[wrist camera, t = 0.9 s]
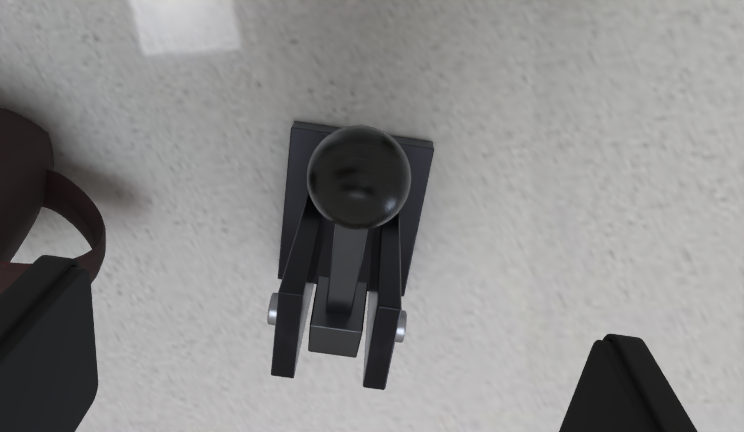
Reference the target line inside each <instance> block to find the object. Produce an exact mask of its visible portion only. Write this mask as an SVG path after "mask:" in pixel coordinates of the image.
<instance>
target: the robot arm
mask: <svg viewBox="0 0 744 432" xmlns="http://www.w3.org/2000/svg"><path fill="white" fill-rule="evenodd" d="M97 388H98V373H97V360H96V347H95V334H94V321H93V308H92V294H91V281H90V273H89V271H88V270H87V269H85V268H81V264H80V262H79V261H78V260H76V259H71V258H64V257H57V256H50V255H42V256H41V257H39V258H38V259H37V260H36V261H35V262H34V263H33V264H32V265H31V266H30V267H29V268H28V269H27V270H25V271H24V272H23V273H22V274H21V275H20V276H19V277H18V278H17V279H16V280H15V281H14V282H13V283H12V284H11V285H10V286H9V287H8V288H7V289H6V290H5V291H4V292H3V293H1V294H0V432H75V430H76V429H77V427H78V425H79V424H80V422H81V421H82V419H83V417H84V416H85V414H86V413H87V411H88V409H89V408H90V406H91V405H92V403H93V401H94V399H95V396H96V393H97ZM559 432H697V430H696V428H695V427H694V425H693V423H692V422H691V420H690V418H689V417H688V415H687V413H686V412H685V410H684V408H683V406H682V405H681V403H680V401H679V400H678V398H677V396H676V395H675V393H674V391H673V390H672V388H671V386H670V385H669V383H668V381H667V379H666V378H665V376H664V374H663V373H662V371H661V369H660V368H659V366H658V364H657V363H656V361H655V359H654V358H653V356H652V354H651V353H650V351H649V349H648V347H647V346H646V344H645V342H644V341H643V340H642V339H640V338H638V337H631V336H623V335H616V334H607V335H606V336H605V337H604V339H603V340H597V341H595V342H594V344H593V346H592V349H591V351H590V354H589V356H588V359H587V361H586V364H585V367H584V369H583V372H582V374H581V377H580V379H579V382H578V385H577V387H576V390H575V392H574V395H573V397H572V400H571V402H570V405H569V408H568V410H567V413H566V415H565V418H564V420H563V423H562V426H561V428H560V431H559Z"/></svg>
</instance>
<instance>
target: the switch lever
mask: <svg viewBox="0 0 744 432" xmlns="http://www.w3.org/2000/svg"><path fill="white" fill-rule="evenodd" d="M410 184H411V170H410V165H409V162H408V159H407V157H406V154H405V153H404V151H403V149H402V148H401V146H400V145H399V144H398V143H397V142H396V141H395V140H394V139H393V138H392V137H391V136H389V135H388V134H386V133H385V132H383V131H381V130H379V129H376V128H373V127H368V126H350V127H345V128H342V129H339V130H337V131H335V132H333V133H332V134H330V135H328V136H327V137H326V138H325V139H324V140H323V141H322V142H321V143H320V144H319V145H318V146H317V148H316V149H315V151H314V152H313V154H312V156H311V159H310V162H309V165H308V171H307V186H308V190H309V194H310V197H311V199H312V201H313V203H314V205H315V206H316V208H317V209H318V211H319V212H320V213H321V214H322V215H323V216H324V217H325V218H326V219H328V220H329V221H331V222H332V223H334V224H335V231H334V240H333V249H332V258H331V267H330V275H329V277H322V276H319V277H318V280H317V286H316V292H315V298H314V303H313V309H312V315H311V321H310V330H309V345H308V351H310V352H317V353H325V354H332V355H339V356H347V357H354V358H355V357H356V356H357V352H358V348H359V344H360V340H361V336H362V331H363V323H364V314H365V305H366V296H367V287H368V283H365V282H358V278H359V273H360V268H361V263H362V258H363V253H364V247H365V242H366V237H367V232H368V229H371V228H375V227H378V226H380V225H382V224H384V223H386V222H387V221H389V220H390V219H392V218H393V217H394V216H395V215H396V214H397V213H398V212H399V211H400V209H401V208H402V206H403V205H404V203H405V201H406V199H407V197H408V194H409V191H410Z"/></svg>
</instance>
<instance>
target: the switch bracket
mask: <svg viewBox="0 0 744 432" xmlns="http://www.w3.org/2000/svg"><path fill="white" fill-rule="evenodd" d="M339 129H342V128H337V127H331V126H324V125H317V124H311V123H304V122H297V121H294V123H293V125H292V127H291V135H290V147H289V158H288V169H287V180H286V191H285V203H284V214H283V225H282V236H281V248H280V259H279V270H278V279H282V282H281V285H280V289H279V292H278V293H273V294H272V296H271V299H270V304H269V310H268V319H267V322H268V324H270V325H275V335H274V346H273V357H272V368H271V375H273V376H280V377H288V378H294V375H295V370H296V365H297V361H298V356H299V351H300V347H301V342H302V337H303V333H304V328H305V323H306V319H307V314H308V309H309V305H310V300H311V295H312V291H313V286H314V284H317V280H318V277H319V276H322V277H329V275H330V267H331V258H332V249H333V240H334V231H335V224H334V223H332V222H331V221H329V220H328V219H326V218H325V217H324V216H323V215H322V214H321V213H320V212H319V211H318V209H317V208H316V206H315V205H314V203H313V201H312V199H311V197H310V194H309V190H308V186H307V171H308V165H309V162H310V159H311V156H312V154H313V152H314V151H315V149H316V148H317V146H318V145H319V144H320V143H321V142H322V141H323V140H324V139H325V138H326V137H327V136H328V135H330V134H332V133H333V132H335V131H337V130H339ZM389 136H390V135H389ZM391 137H392V138H393V139H394V140H395V141H396V142H397V143H398V144H399V145H400V146H401V148H402V149H403V151H404V153H405V154H406V157H407V159H408V162H409V165H410V170H411V184H410V191H409V194H408V197H407V199H406V201H405V203H404V205H403V206H402V208H401V209H400V211H399V212H398V213H397V214H396V215H395V216H394V217H393V218H392V219H390V220H389V221H387V222H386V223H384V224H382V225H380V226H378V227H375V228H371V229H368V232H367V237H366V242H365V247H364V253H363V258H362V263H361V268H360V273H359V278H358V282H365V283H368V287H367V291H369V296H368V311H367V327H366V342H365V357H364V373H363V387H366V388H373V389H381V390H384V389H385V387H386V383H387V378H388V373H389V368H390V363H391V358H392V353H393V348H394V344H395V342H403V340H404V336H405V330H406V321H407V313H406V311H402V308H401V296H404V294H405V289H406V284H407V279H408V274H409V269H410V264H411V259H412V255H413V250H414V245H415V240H416V235H417V230H418V225H419V221H420V216H421V211H422V206H423V201H424V196H425V191H426V186H427V182H428V177H429V172H430V167H431V162H432V157H433V152H434V146H433V142H430V141H424V140H417V139H410V138H404V137H397V136H391Z"/></svg>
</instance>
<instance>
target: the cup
mask: <svg viewBox="0 0 744 432" xmlns="http://www.w3.org/2000/svg"><path fill="white" fill-rule="evenodd" d="M53 170H54V157H53V149H52V145H51V141H50V138H49V135H48V133H47V132H46V131H44V130H43V129H42V128H40V127H39V126H38V125H36V124H35V123H33V122H32V121H30V120H28V119H27V118H25V117H23V116H21V115H19V114H17V113H14V112H12V111H9V110H7V109H4V108H0V294H1V293H3V292H4V291H5V290H6V289H7V288H8V287H9V286H10V285H11V284H12V283H13V282H14V281H15V280H16V279H17V278H18V277H19V276H20V275H21V274H22V273H23V272H24V271H25V270H27V269H28V268H29V267H30V266H31V265H32V264H23V263H11V262H10V261H11V259H12V258H13V256H14V255H15V253H16V252H17V250H18V249H19V247H20V246H21V244H22V242H23V241H24V239H25V238H26V236H27V234H28V233H29V231H30V229H31V227H32V225H33V224H34V222H35V220H36V218H37V216H38V214H39V212H40V210H41V207H45V208H48V209H51V210H53V211H55V212H57V213H59V214H60V215H62V216H63V217H64V218H66V219H67V220H68V221H69V222H70V223H72V224H73V225H74V226H75V227H76V228H77V229H78V230H79V231H80V233H81V234H82V235H83V236H84V237H85V239H86V240H87V241H88V243H89V244H90V246H91V248H92V250H91V251H89V252H88V253H86V254H84V255H82V256H79V257H77V258H74V259H76V260H78V261H79V262H80V264H81V268H85V269H87V270H88V271H89V273H90V281H91V283H92V282H93V281H94V279H95V278H96V276H97V274H98V272H99V270H100V267H101V265H102V262H103V259H104V256H105V249H106V232H105V225H104V222H103V219H102V216H101V214H100V212H99V211H98V209H97V207H96V206H95V204H94V203H93V202H92V201H91V199H90V198H89V197H88V196H87V195H86V194H85V193H84V192H83V191H82V190H81V189H80V188H79V187H78V186H76V185H75V184H74V183H73V182H72V181H70V180H69V179H67V178H66V177H64V176H62V175H61V174H59V173H57V172H54V171H53Z"/></svg>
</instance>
